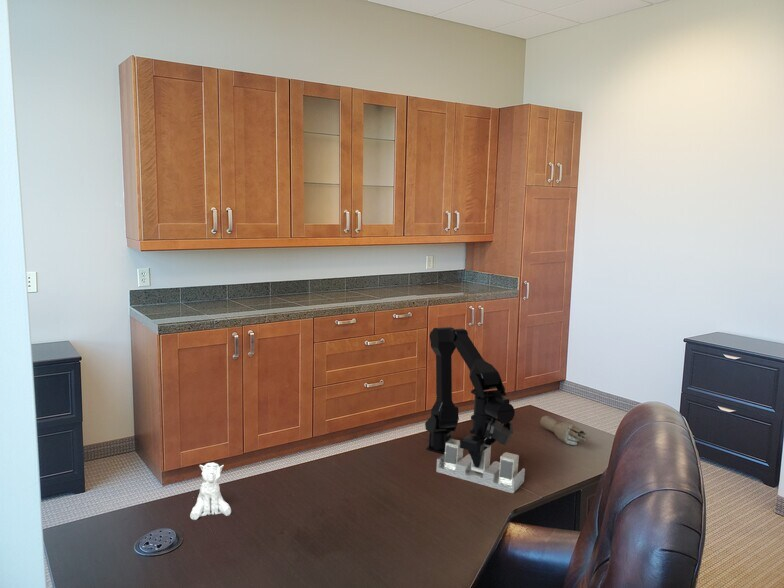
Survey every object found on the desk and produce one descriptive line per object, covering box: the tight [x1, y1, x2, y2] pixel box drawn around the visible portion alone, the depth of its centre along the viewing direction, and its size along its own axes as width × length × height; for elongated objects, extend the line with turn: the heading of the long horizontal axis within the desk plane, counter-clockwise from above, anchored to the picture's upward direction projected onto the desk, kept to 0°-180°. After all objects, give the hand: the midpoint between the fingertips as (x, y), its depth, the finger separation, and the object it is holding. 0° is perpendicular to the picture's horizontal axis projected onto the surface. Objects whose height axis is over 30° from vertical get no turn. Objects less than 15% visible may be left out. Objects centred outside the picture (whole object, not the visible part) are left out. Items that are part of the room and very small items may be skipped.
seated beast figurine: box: [189, 462, 232, 521], centre depth 149 cm, size 10×9×12 cm
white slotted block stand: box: [435, 438, 526, 494], centre depth 176 cm, size 24×9×8 cm, turn 59°
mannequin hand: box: [539, 415, 588, 446], centre depth 210 cm, size 7×7×25 cm
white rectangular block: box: [471, 444, 492, 473], centre depth 176 cm, size 4×4×7 cm
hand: (480, 464), depth 176 cm, fingers closed on white rectangular block, 4 cm apart
